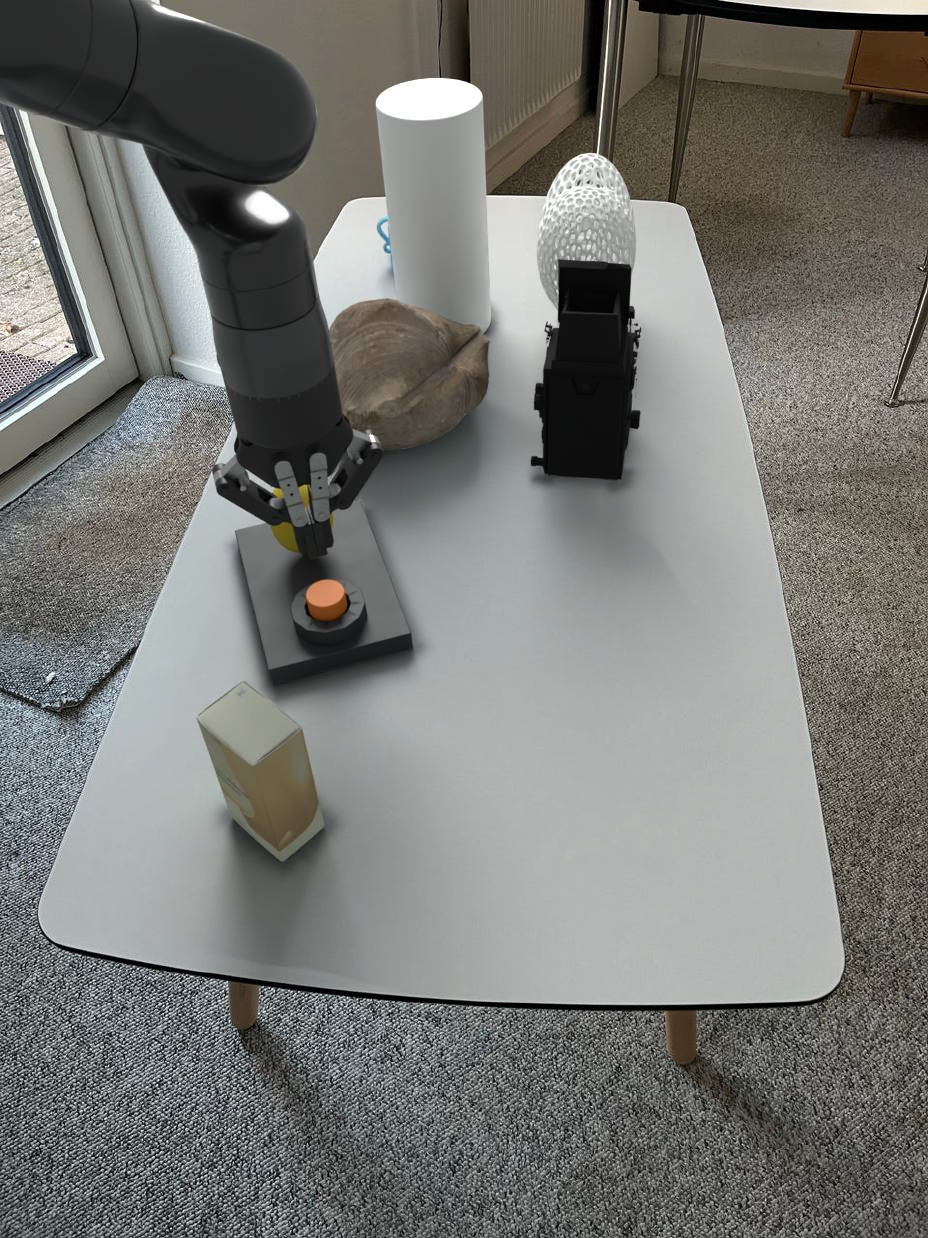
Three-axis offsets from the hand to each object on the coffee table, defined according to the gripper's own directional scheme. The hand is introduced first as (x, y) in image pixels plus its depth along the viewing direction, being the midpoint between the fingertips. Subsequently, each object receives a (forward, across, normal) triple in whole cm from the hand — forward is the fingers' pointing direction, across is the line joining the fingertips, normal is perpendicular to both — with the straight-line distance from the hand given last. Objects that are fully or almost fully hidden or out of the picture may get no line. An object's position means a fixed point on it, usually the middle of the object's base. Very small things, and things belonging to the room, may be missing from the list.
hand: (316, 550), depth 84 cm
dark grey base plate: (+10, 0, +5) cm, 11 cm away
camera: (+10, +30, +17) cm, 36 cm away
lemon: (+8, 0, +9) cm, 12 cm away
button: (+7, 0, 0) cm, 7 cm away
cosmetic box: (+10, -8, -17) cm, 21 cm away
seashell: (+10, +14, +27) cm, 32 cm away
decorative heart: (+10, +38, +38) cm, 54 cm away
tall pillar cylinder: (+10, +23, +44) cm, 51 cm away
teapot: (+10, +25, +58) cm, 64 cm away
